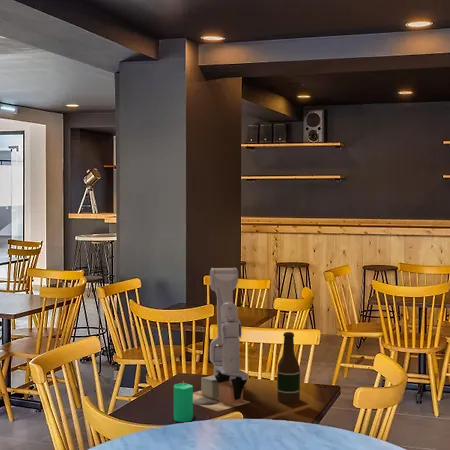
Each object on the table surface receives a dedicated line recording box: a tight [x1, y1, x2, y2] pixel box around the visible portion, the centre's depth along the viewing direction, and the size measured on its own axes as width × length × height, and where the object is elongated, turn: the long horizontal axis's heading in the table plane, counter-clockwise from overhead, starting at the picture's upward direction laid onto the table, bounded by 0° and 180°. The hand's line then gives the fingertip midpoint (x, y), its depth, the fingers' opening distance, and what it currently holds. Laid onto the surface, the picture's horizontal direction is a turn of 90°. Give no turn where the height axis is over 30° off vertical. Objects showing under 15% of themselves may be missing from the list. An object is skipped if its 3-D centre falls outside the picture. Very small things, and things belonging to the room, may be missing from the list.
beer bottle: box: [276, 331, 301, 404], centre depth 232 cm, size 8×8×24 cm
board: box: [193, 390, 251, 412], centre depth 233 cm, size 15×22×1 cm
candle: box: [173, 380, 194, 423], centre depth 215 cm, size 6×6×12 cm
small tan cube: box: [219, 380, 244, 404], centre depth 232 cm, size 6×6×6 cm
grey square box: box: [200, 374, 219, 398], centre depth 239 cm, size 6×6×6 cm
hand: (230, 397), depth 232 cm, fingers closed on small tan cube, 6 cm apart
